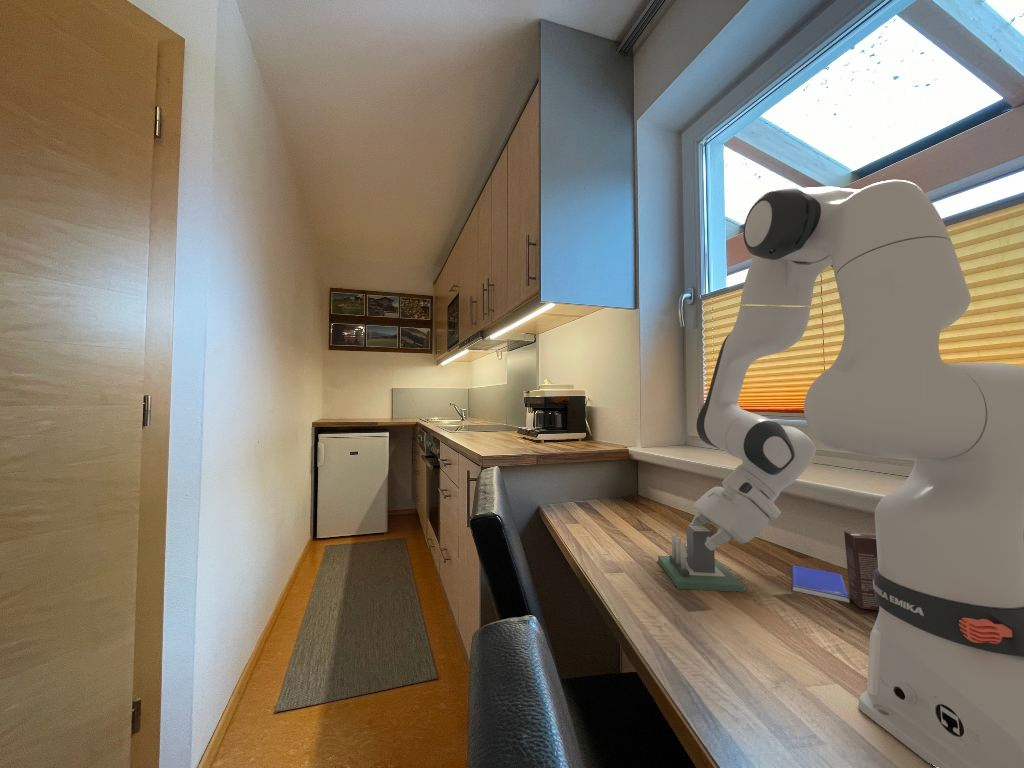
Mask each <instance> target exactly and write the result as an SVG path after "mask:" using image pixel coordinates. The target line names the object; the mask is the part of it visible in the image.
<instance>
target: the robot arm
mask: <svg viewBox="0 0 1024 768" xmlns="http://www.w3.org/2000/svg"><path fill="white" fill-rule="evenodd" d="M948 231H949V230H948V229H947V227H946V225H945V223H944V221H943V218H942V217H941V215H940V213H939V212H938V211H937V209H936V207H935V205H934V204H933V202H932V201H931V200H930V198H929V197H928V196H927V194H926V193H925V192H924V191H923V190H922V188H921V187H920V186H919V185H917V184H916V183H913V182H911V181H909V180H902V179H890V180H885V181H880V182H875V183H872V184H869V185H868V186H865V187H863V188H861V189H855V188H854V189H853V188H842V187H841V188H840V187H837V186H818V187H815V186H814V187H802V188H798V187H792V186H791V187H784V188H780V189H774V190H771V191H768V192H766V193H764V194H763V195H761V196H760V197H759V198H758V199H757V200H756V201H755V202H754V204H753V205H752V207H751V208H750V209H749V212H748V213H747V215H746V217H745V221H744V226H743V235H742V236H743V241H744V244H745V246H746V249H747V251H748V252H749V254H751V255H753V257H752V259H751V262H750V265H749V268H748V271H747V274H746V277H745V280H744V284H743V287H742V292H741V297H740V302H739V304H740V305H739V310H738V314H737V317H736V320H735V323H734V325H733V328H732V329H731V332H730V333H728V334H727V336H726V337H725V338H724V340H723V342H722V344H721V347H720V350H719V352H718V356H717V360H716V363H715V367H714V371H713V374H712V377H711V381H710V386H709V388H708V389H709V390H708V392H707V396H706V398H705V400H704V403H703V405H702V407H701V409H700V411H699V414H698V415H697V419H696V432H697V434H698V437H699V438H700V440H701V441H702V443H705V444H706V445H708V446H711V447H713V448H716V449H718V450H722V451H723V452H725V453H727V454H729V455H731V456H732V457H735V458H737V459H740V460H741V462H742V463H741V464H740V465H737V467H736V468H735V469H733V470H732V472H731V473H729V474H728V475H727V476H726V477H725V478H724V479H723V480H722V482H721V485H722V486H714V487H712V488H711V489H709V490H707V491H706V492H705V493H704V494H703V495H702V496H700V497H699V498H698V499H697V500H696V501H695V502H694V504H693V506H692V509H693V510H694V511H695V512H696V514H695V515H694V517H693V519H692V520H691V522H690V524H689V525H688V526H704V525H706V523H710V524H711V525H713V526H714V527H716V528H717V530H716V532H715V533H714V535H713V536H711V537H709V536H708V537H707V538H706V539H705V540H704V541H703V544H704V545H705V546H706V547H707V548H708V549H709V550H711V551H713V550H714V551H715V549H716V548H718V547H719V546H721V545H723V544H726V543H727V542H729V541H730V540H731V539H732V540H735V541H736V542H738V544H745V543H746V544H747V542H750V541H752V540H753V539H754V538H755V537H756V536H758V535H759V534H760V532H761V531H763V530H764V529H765V528H766V527H767V525H768V524H769V523H770V520H773V521H774V520H776V519H777V518H778V517H779V516H780V515H781V514H782V513H781V512H782V511H781V510H780V509H779V508H778V506H777V504H776V503H775V501H777V499H778V497H779V496H780V494H781V492H782V491H783V490H784V489H785V488H786V487H788V486H791V485H792V484H793V483H794V482H796V480H798V479H799V477H800V476H801V475H802V474H803V473H804V472H805V471H806V469H808V467H809V466H810V464H811V463H812V461H813V460H814V458H815V455H816V454H817V448H816V445H815V443H814V442H813V441H812V439H811V438H810V437H809V436H808V435H807V434H806V433H805V432H803V431H802V430H800V429H799V428H796V427H794V426H791V425H783V424H780V423H778V422H776V421H774V420H773V419H770V418H769V417H766V416H763V415H760V414H757V413H753V412H750V411H747V410H746V409H742V408H741V406H740V404H739V398H740V394H741V392H742V387H743V384H744V382H745V378H746V374H747V371H748V369H749V368H750V366H751V365H752V364H753V363H754V362H755V361H757V360H759V359H761V358H764V357H768V356H771V355H775V354H779V353H781V352H783V351H785V350H786V351H787V350H788V349H789V348H791V347H793V346H795V344H797V343H798V342H799V341H800V340H801V339H802V338H803V336H804V334H805V332H806V329H807V327H808V323H809V320H810V314H811V307H812V302H813V295H814V294H813V293H814V287H815V283H816V280H817V277H818V276H819V275H820V274H821V273H822V272H823V271H824V270H826V269H827V268H829V267H832V269H833V274H834V279H835V283H836V287H837V292H838V296H839V297H838V298H839V301H840V308H841V311H842V317H843V326H844V327H843V332H844V333H843V339H842V345H841V348H840V350H839V353H838V355H837V356H836V359H835V360H834V362H833V363H832V364H831V366H830V367H829V368H827V369H826V370H825V371H823V372H822V373H821V374H820V375H819V376H818V377H817V378H815V380H814V381H813V382H812V384H811V385H810V387H809V388H808V390H807V392H806V393H805V394H806V395H805V398H804V402H803V403H804V404H803V413H804V418H805V421H806V424H807V427H808V428H809V429H810V431H811V433H812V434H813V435H814V436H815V438H816V439H817V440H818V441H819V442H820V443H821V444H823V445H824V446H826V447H827V448H830V449H831V450H836V451H841V452H845V453H850V454H853V455H854V454H855V455H860V456H866V457H871V458H879V459H880V458H881V459H883V458H884V459H886V458H887V459H915V460H914V463H913V467H912V470H911V472H910V474H909V475H908V477H907V478H906V480H905V481H904V482H903V484H902V485H901V486H899V487H898V488H896V489H895V490H892V491H891V492H890V493H888V494H887V495H885V496H884V497H882V498H881V499H880V500H879V502H877V504H876V507H875V511H874V525H875V534H876V543H877V558H878V568H876V569H875V570H874V580H873V588H874V593H875V601H876V602H877V603H878V604H879V605H880V606H879V610H878V614H877V617H876V619H875V622H874V625H873V627H872V629H871V631H870V635H869V636H870V637H869V647H868V664H867V679H866V681H867V683H866V690H865V691H863V692H862V693H861V694H860V695H859V697H858V709H859V710H860V711H862V713H863V714H864V715H866V716H867V717H868V718H870V719H871V720H872V721H874V722H875V723H876V724H877V725H879V726H880V727H882V729H884V730H885V731H887V733H889V734H891V735H892V736H893V737H894V738H896V739H897V740H898V741H899V742H901V743H902V744H903V745H905V746H906V747H907V748H909V749H910V750H911V751H913V752H914V753H915V754H916V755H918V756H919V757H920V758H922V759H923V760H924V761H925V762H927V763H928V764H929V763H930V764H929V765H931V764H932V765H935V766H936V767H939V768H1024V366H1023V365H1015V364H1011V363H1004V362H945V361H944V360H943V359H942V357H941V354H940V349H939V348H940V346H939V345H940V335H941V332H942V331H944V330H945V329H947V328H949V327H951V325H953V324H955V322H957V321H958V320H960V318H961V317H962V316H963V315H964V314H965V313H966V311H967V310H968V309H969V306H970V304H971V294H970V290H969V288H968V285H967V282H966V280H965V279H966V278H965V275H964V272H963V270H962V267H961V264H960V261H959V258H958V256H957V253H956V250H955V247H954V244H953V241H952V239H951V236H950V234H949V232H948ZM932 765H931V766H932Z"/></svg>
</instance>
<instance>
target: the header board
mask: <svg viewBox="0 0 1024 768" xmlns="http://www.w3.org/2000/svg"><path fill="white" fill-rule="evenodd" d="M657 558H658V559H657V561H658V563H659V564H660V566H661V565H662V566H661V567H662V568H663V570H664V571H665V573H666V572H667V573H666V574H667V576H668V577H669V576H670V577H669V578H670V580H671V579H672V580H671V581H672V583H674V585H675V586H677V587H676V588H677V589H678V588H680V589H681V590H697V589H698V591H699V590H700V591H701V590H703V591H719V592H720V591H721V592H736V591H738V593H739V592H741V593H744V592H745V590H746V589H745V584H743V582H741V581H740V580H739V579H738V578H737V577H736V576H734V575H733V573H731V572H730V571H729V570H728V569H727V568H726V567H724V565H722V564H721V563H720V562H719V561H718V560H717V559H716V558H715V573H701V572H694V571H693V570H692V569H691V568H690V567H689V566H688V564H687V542H682V538H680V537H677V533H671V555H658V556H657Z"/></svg>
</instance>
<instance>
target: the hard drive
mask: <svg viewBox="0 0 1024 768" xmlns="http://www.w3.org/2000/svg"><path fill="white" fill-rule="evenodd" d="M791 568H792V572H791V573H792V580H791V581H792V591H793V592H798V593H802V594H807V595H811V596H816V597H820V598H821V597H822V598H826V599H829V600H830V599H831V600H834V601H835V600H836V601H838V602H844V603H847V604H849V603H850V596H849V593H848V591H847V587H846V584H845V581H844V578H843V575H842V574H840V573H836V572H831V571H827V570H820V569H814V568H811V567H804V566H799V565H793V566H792V567H791Z"/></svg>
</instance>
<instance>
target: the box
mask: <svg viewBox="0 0 1024 768" xmlns="http://www.w3.org/2000/svg"><path fill="white" fill-rule="evenodd" d="M843 533H844V544H845V558H846V567H847V580H848V581H847V582H848V589H849V590H848V591H849V593H848V595H849V600H851V601H852V602H853V603H854V604H855V605H856V606H858V607H859V608H860V609H867V610H873V611H879V606H880V605H879V604H878V603H877V602H876V601H875V593H874V588H873V580H874V570H875V569H876V568H878V558H877V543H876V532H874V533H872V532H859V531H849V530H848V531H847V530H845V531H844V532H843Z"/></svg>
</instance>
